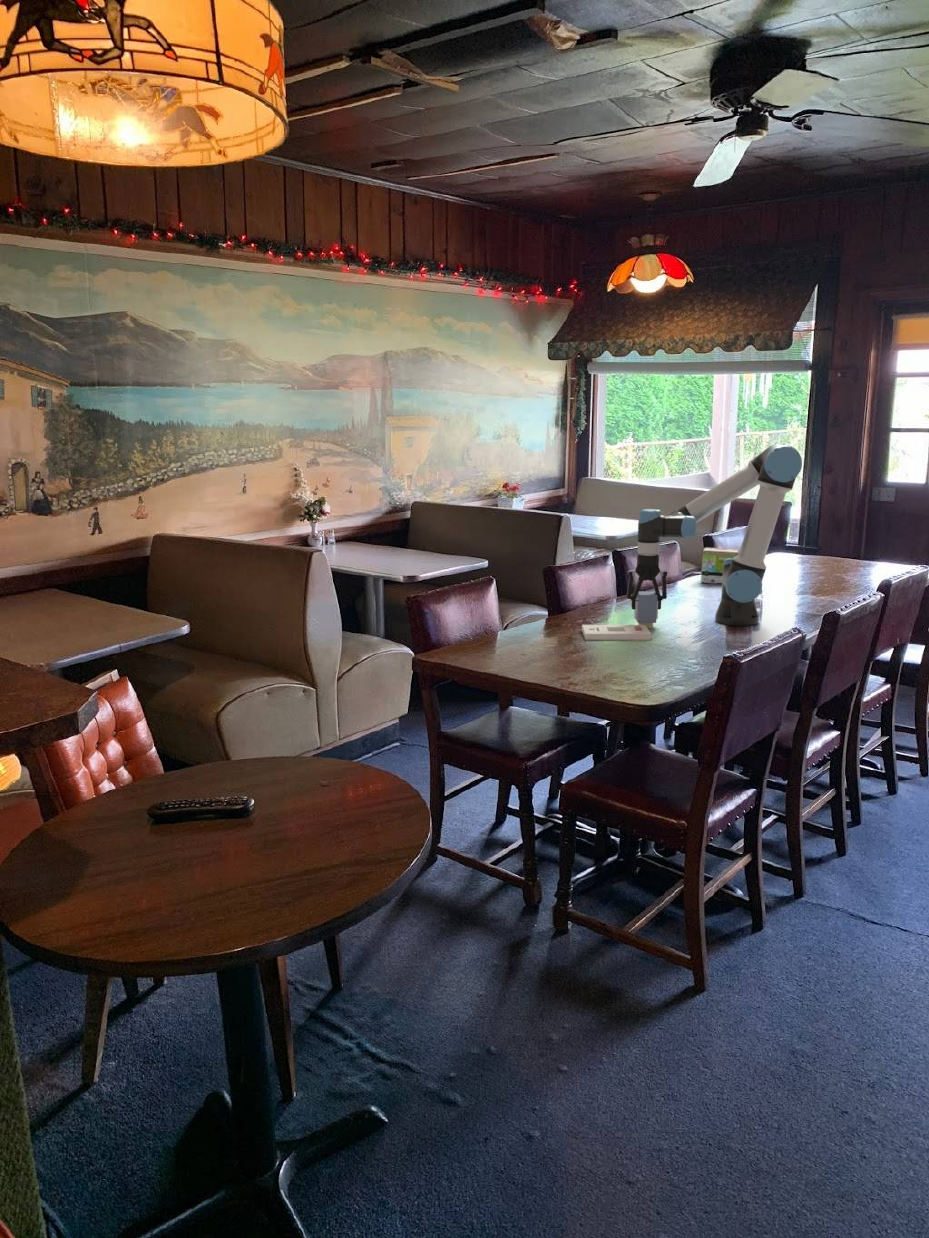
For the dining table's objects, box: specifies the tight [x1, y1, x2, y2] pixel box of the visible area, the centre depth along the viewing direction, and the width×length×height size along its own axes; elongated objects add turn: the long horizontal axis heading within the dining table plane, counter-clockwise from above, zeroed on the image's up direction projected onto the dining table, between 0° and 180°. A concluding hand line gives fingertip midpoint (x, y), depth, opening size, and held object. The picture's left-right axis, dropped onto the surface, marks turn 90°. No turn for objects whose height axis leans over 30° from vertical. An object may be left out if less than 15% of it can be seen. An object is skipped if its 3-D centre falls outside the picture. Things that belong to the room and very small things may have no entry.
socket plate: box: [581, 624, 652, 641], centre depth 319 cm, size 22×13×3 cm, turn 88°
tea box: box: [700, 547, 740, 584], centre depth 411 cm, size 15×10×15 cm, turn 72°
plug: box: [635, 590, 657, 629], centre depth 330 cm, size 6×6×12 cm
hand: (645, 618), depth 331 cm, fingers closed on plug, 6 cm apart
